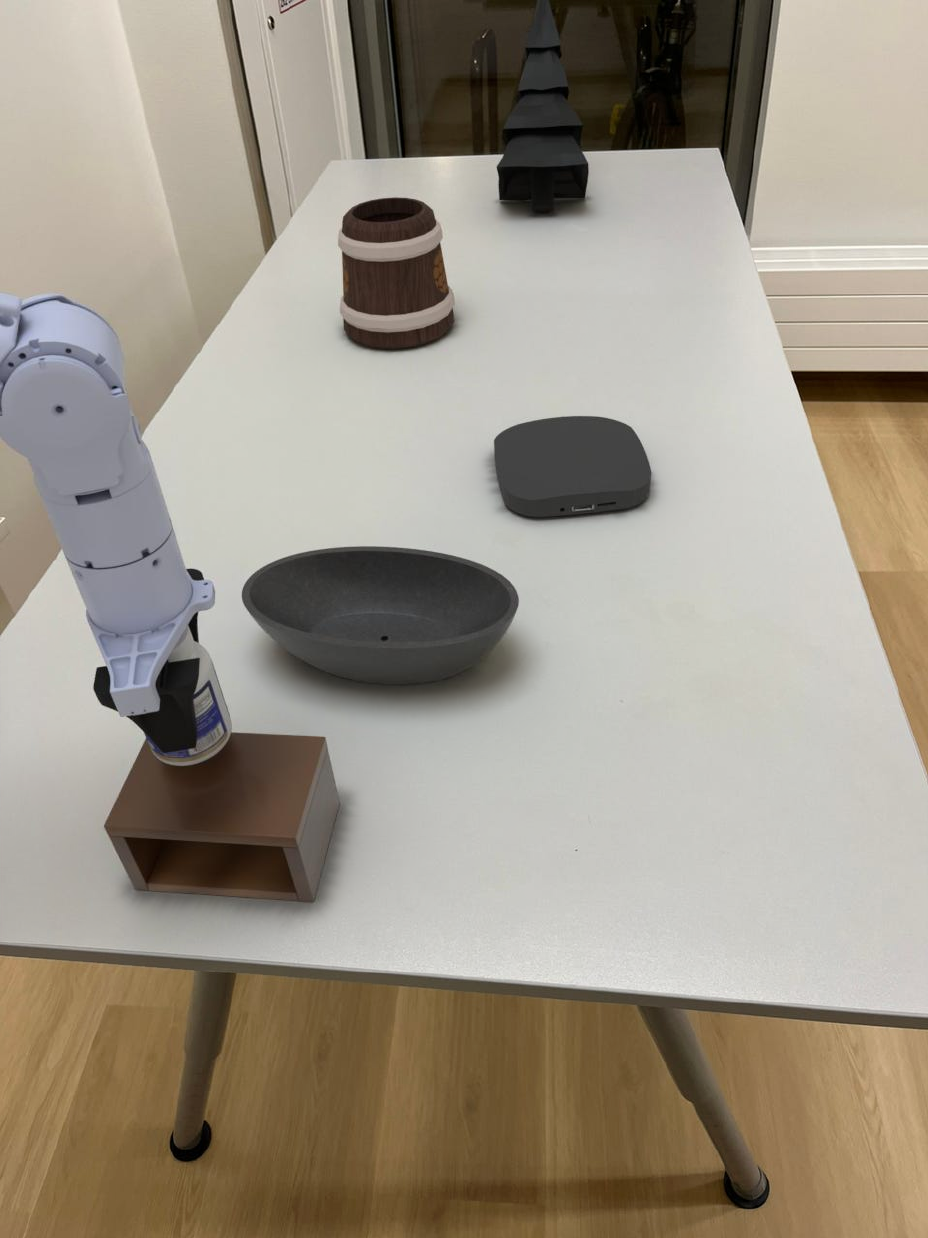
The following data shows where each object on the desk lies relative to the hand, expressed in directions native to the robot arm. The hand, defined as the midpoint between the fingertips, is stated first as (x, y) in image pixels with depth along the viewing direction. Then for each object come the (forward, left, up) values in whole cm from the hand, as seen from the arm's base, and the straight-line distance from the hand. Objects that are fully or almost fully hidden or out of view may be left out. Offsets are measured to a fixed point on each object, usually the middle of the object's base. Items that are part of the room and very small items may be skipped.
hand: (182, 712), depth 60 cm
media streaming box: (+34, +36, -10) cm, 51 cm away
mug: (+22, +79, -10) cm, 83 cm away
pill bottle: (0, 0, -3) cm, 3 cm away
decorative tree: (+51, +121, -10) cm, 132 cm away
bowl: (+13, +14, -10) cm, 22 cm away
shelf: (+2, -3, -10) cm, 11 cm away
